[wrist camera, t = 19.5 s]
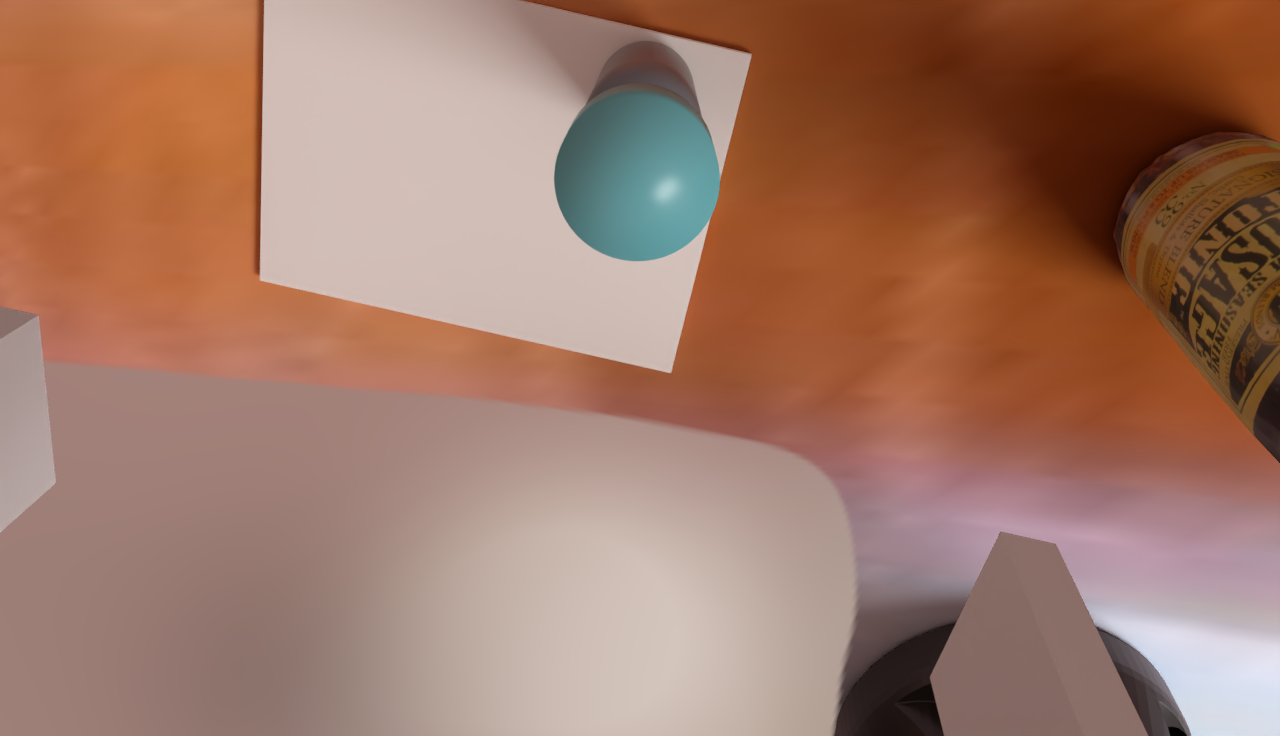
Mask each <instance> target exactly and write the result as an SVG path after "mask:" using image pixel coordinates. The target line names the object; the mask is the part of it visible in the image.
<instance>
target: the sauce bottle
mask: <svg viewBox="0 0 1280 736" xmlns="http://www.w3.org/2000/svg"><path fill="white" fill-rule="evenodd" d="M1113 237H1114V239H1115V243H1116V246H1117V251H1118V254H1119V258H1120V262H1121V264H1122V267H1123V271H1124V274H1125V276H1126V279H1127V281H1128V283H1129V285H1130V286H1131V287H1132V289H1133V290H1134V292H1135V293H1136V294H1137V295H1138V296H1139V297H1140V299H1141V300H1142V301H1143V302H1144V303H1145V305H1146V306H1147V307H1148V308H1149V310H1150V311H1151V312H1152V313H1153V314H1154V316H1155V317H1156V318H1157V319H1158V321H1159V322H1160V323H1161V324H1162V326H1163V327H1164V328H1165V329H1166V331H1167V332H1168V333H1169V334H1170V335H1171V337H1172V338H1173V339H1174V340H1175V342H1176V343H1177V344H1178V345H1179V347H1180V348H1181V349H1182V351H1183V352H1184V353H1185V354H1186V356H1187V357H1188V358H1189V360H1190V361H1191V362H1192V363H1193V364H1194V366H1195V367H1196V368H1197V369H1198V370H1199V372H1200V373H1201V374H1202V375H1203V376H1204V378H1205V379H1206V380H1207V381H1208V382H1209V384H1210V385H1211V386H1212V387H1213V388H1214V390H1215V391H1216V392H1217V393H1218V394H1219V395H1220V397H1221V398H1222V399H1223V400H1224V401H1225V403H1226V404H1227V405H1228V406H1229V407H1230V408H1231V410H1232V411H1233V412H1234V413H1235V414H1236V415H1237V417H1238V418H1239V419H1240V420H1241V421H1242V422H1243V424H1244V425H1245V426H1246V427H1247V428H1248V429H1249V431H1250V432H1251V433H1252V434H1253V435H1254V436H1255V437H1256V438H1257V439H1258V440H1259V441H1260V442H1261V443H1262V445H1263V446H1264V447H1265V448H1266V449H1267V450H1268V451H1269V452H1270V453H1271V454H1272V455H1273V456H1274V457H1275V458H1276V459H1277V461H1278V462H1279V463H1280V142H1278V141H1275V140H1272V139H1270V138H1267V137H1266V136H1263V135H1256V134H1250V133H1244V132H1215V133H1210V134H1206V135H1204V136H1201V137H1198V138H1195V139H1192V140H1189V141H1187V142H1185V143H1183V144H1181V145H1179V146H1176V147H1174V148H1172V149H1171V150H1169V151H1168V152H1166V153H1165V154H1162V155H1160V156H1158V157H1157V158H1155V160H1154V161H1153V163H1152V164H1151V165H1150V166H1148V167H1146V168H1145V169H1143V170H1142V171H1141V172H1140V173H1139V174H1138V176H1137V178H1136V180H1135V181H1134V183H1133V184H1132V185H1131V187H1130V189H1129V191H1128V193H1127V194H1126V196H1125V199H1124V201H1123V203H1122V206H1121V208H1120V209H1119V216H1118V219H1117V221H1116V227H1115V229H1114V232H1113Z"/></svg>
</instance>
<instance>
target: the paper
mask: <svg viewBox="0 0 1280 736" xmlns="http://www.w3.org/2000/svg"><path fill="white" fill-rule="evenodd" d="M639 41H652V42H657V43H661V44H663V45H666V46H668V47H669V48H671V49H673V50H674V51H675V52H677V53H678V54H679V55H680V56H681V57H682V58H683V60H684V61H685V62H686V64H687V66H688V68H689V70H690V72H691V75H692V78H693V82H694V86H695V90H696V95H697V99H698V103H699V107H700V111H701V115H702V118H703V120H704V121H705V123H706V125H707V127H708V129H709V132H710V134H711V137H712V141H713V145H714V149H715V152H716V156H717V160H718V164H719V172H720V178H721V174H722V170H723V166H724V162H725V158H726V154H727V151H728V147H729V143H730V139H731V135H732V131H733V127H734V123H735V119H736V115H737V111H738V107H739V103H740V99H741V96H742V92H743V88H744V84H745V80H746V76H747V72H748V68H749V64H750V60H751V56H752V53H748V52H744V51H739V50H735V49H731V48H726V47H722V46H718V45H713V44H709V43H705V42H700V41H696V40H692V39H688V38H683V37H679V36H675V35H670V34H666V33H662V32H657V31H653V30H649V29H645V28H640V27H636V26H632V25H627V24H623V23H619V22H614V21H610V20H606V19H602V18H597V17H593V16H589V15H584V14H580V13H576V12H571V11H567V10H563V9H559V8H554V7H550V6H546V5H541V4H537V3H533V2H528V1H524V0H264V43H263V107H262V171H261V235H260V281H265V282H269V283H273V284H278V285H282V286H287V287H291V288H296V289H300V290H304V291H309V292H313V293H318V294H322V295H327V296H331V297H335V298H340V299H344V300H349V301H353V302H358V303H362V304H366V305H371V306H375V307H380V308H384V309H389V310H393V311H397V312H402V313H406V314H411V315H415V316H420V317H424V318H428V319H433V320H437V321H442V322H446V323H451V324H455V325H459V326H464V327H468V328H473V329H477V330H482V331H486V332H490V333H495V334H499V335H504V336H508V337H513V338H517V339H522V340H526V341H530V342H535V343H539V344H544V345H548V346H553V347H557V348H561V349H566V350H570V351H575V352H579V353H584V354H588V355H592V356H597V357H601V358H606V359H610V360H615V361H619V362H623V363H628V364H632V365H637V366H641V367H646V368H650V369H654V370H659V371H663V372H668V373H671V371H672V367H673V363H674V359H675V355H676V351H677V347H678V343H679V339H680V335H681V331H682V327H683V323H684V319H685V316H686V312H687V308H688V304H689V300H690V296H691V292H692V288H693V284H694V280H695V276H696V272H697V268H698V264H699V261H700V257H701V253H702V249H703V245H704V241H705V237H706V233H707V229H708V225H709V221H710V219H709V221H708V222H707V224H706V226H705V227H704V228H703V230H702V231H701V232H700V233H699V235H698V236H696V237H695V238H694V239H693V240H692V241H691V242H690V243H689V244H687V245H686V246H685V247H683V248H682V249H680V250H678V251H676V252H675V253H673V254H670V255H668V256H665V257H662V258H659V259H655V260H648V261H627V260H620V259H616V258H612V257H610V256H607V255H605V254H602V253H600V252H598V251H597V250H595V249H593V248H592V247H590V246H589V245H587V244H586V243H585V242H583V241H582V240H581V239H580V238H579V237H578V236H577V235H576V234H575V233H574V231H573V230H572V229H571V228H570V226H569V225H568V223H567V222H566V220H565V219H564V216H563V214H562V212H561V210H560V208H559V205H558V202H557V198H556V193H555V186H554V171H555V164H556V159H557V155H558V152H559V149H560V147H561V144H562V142H563V140H564V138H565V136H566V134H567V132H568V130H569V128H570V126H571V124H572V122H573V120H574V119H575V117H576V116H577V114H578V113H579V112H580V110H581V109H582V108H583V107H584V106H585V105H586V103H587V101H588V98H589V96H590V94H591V92H592V90H593V88H594V86H595V83H596V81H597V79H598V77H599V75H600V73H601V71H602V69H603V67H604V65H605V63H606V62H607V60H608V59H609V58H610V57H611V56H612V55H613V54H614V53H615V52H616V51H617V50H619V49H620V48H622V47H624V46H626V45H628V44H631V43H634V42H639Z"/></svg>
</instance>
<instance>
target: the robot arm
mask: <svg viewBox="0 0 1280 736" xmlns="http://www.w3.org/2000/svg"><path fill="white" fill-rule="evenodd" d="M54 484H56V478H55V468H54V458H53V449H52V439H51V430H50V420H49V410H48V402H47V392H46V381H45V372H44V362H43V352H42V343H41V333H40V323H39V315H36V314H32V313H27V312H23V311H18V310H14V309H9V308H5V307H0V532H2V531H3V530H4V529H5V528H6V527H7V526H8V525H9V524H10V523H12V522H13V521H14V520H15V519H16V518H17V517H18V516H20V515H21V514H22V513H23V512H24V511H25V510H26V509H27V508H28V507H30V506H31V505H32V504H33V503H34V502H35V501H36V500H38V499H39V498H40V497H41V496H42V495H43V494H44V493H45V492H47V491H48V490H49V489H50V488H51V487H52V486H53V485H54ZM835 736H1191V733H1190V730H1189V728H1188V725H1187V723H1186V721H1185V719H1184V717H1183V715H1182V713H1181V711H1180V709H1179V707H1178V705H1177V704H1176V702H1175V700H1174V698H1173V696H1172V694H1171V692H1170V690H1169V688H1168V687H1167V685H1166V683H1165V681H1164V680H1163V678H1162V677H1161V675H1160V674H1159V672H1158V671H1157V670H1156V669H1155V668H1154V666H1153V665H1152V664H1151V663H1150V662H1149V661H1148V660H1147V659H1146V658H1145V657H1144V656H1142V655H1141V654H1140V653H1139V652H1137V651H1136V650H1135V649H1133V648H1132V647H1130V646H1129V645H1127V644H1126V643H1124V642H1122V641H1121V640H1119V639H1117V638H1115V637H1113V636H1111V635H1109V634H1107V633H1105V632H1102V631H1100V630H1097V628H1096V626H1095V624H1094V622H1093V620H1092V618H1091V616H1090V614H1089V612H1088V610H1087V608H1086V606H1085V604H1084V602H1083V599H1082V597H1081V595H1080V593H1079V591H1078V589H1077V587H1076V585H1075V583H1074V581H1073V579H1072V577H1071V575H1070V573H1069V571H1068V568H1067V566H1066V564H1065V562H1064V560H1063V558H1062V556H1061V554H1060V552H1059V550H1058V548H1057V546H1056V544H1053V543H1049V542H1045V541H1040V540H1036V539H1031V538H1027V537H1022V536H1018V535H1013V534H1009V533H1005V532H1000V534H999V536H998V538H997V540H996V542H995V544H994V546H993V548H992V550H991V552H990V554H989V556H988V558H987V561H986V563H985V565H984V567H983V569H982V571H981V573H980V575H979V577H978V579H977V581H976V583H975V585H974V587H973V589H972V591H971V593H970V595H969V597H968V600H967V602H966V604H965V606H964V608H963V610H962V612H961V614H960V616H959V618H958V620H957V622H956V624H952V625H948V626H945V627H942V628H939V629H936V630H933V631H931V632H928V633H926V634H923V635H921V636H919V637H917V638H914V639H912V640H910V641H908V642H907V643H905V644H903V645H901V646H899V647H898V648H896V649H894V650H893V651H891V652H890V653H888V654H887V655H886V656H884V657H883V658H881V659H880V660H879V661H878V662H877V663H875V664H874V665H873V666H872V667H871V668H870V669H869V670H868V671H867V672H866V673H865V674H864V675H863V676H862V677H861V678H860V679H859V680H858V682H857V683H856V684H855V686H854V687H853V688H852V690H851V691H850V693H849V695H848V696H847V698H846V700H845V702H844V704H843V706H842V709H841V711H840V714H839V717H838V721H837V725H836V732H835Z"/></svg>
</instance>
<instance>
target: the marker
mask: <svg viewBox="0 0 1280 736" xmlns="http://www.w3.org/2000/svg"><path fill="white" fill-rule="evenodd" d="M554 186H555V193H556V198H557V202H558V205H559V208H560V210H561V212H562V214H563V216H564V219H565V220H566V222H567V223H568V225H569V226H570V228H571V229H572V230H573V231H574V233H575V234H576V235H577V236H578V237H579V238H580V239H581V240H582V241H583V242H585V243H586V244H587V245H589V246H590V247H592V248H593V249H595V250H597V251H598V252H600V253H602V254H605V255H607V256H610V257H612V258H616V259H620V260H627V261H648V260H655V259H659V258H662V257H665V256H668V255H670V254H673V253H675V252H676V251H678V250H680V249H682V248H683V247H685V246H686V245H687V244H689V243H690V242H691V241H692V240H693V239H694V238H695V237H696V236H698V235H699V233H700V232H701V231H702V230H703V228H704V227H705V226H706V224H707V222H708V221H709V219H710V217H711V215H712V213H713V211H714V209H715V206H716V202H717V199H718V194H719V187H720V172H719V164H718V160H717V156H716V152H715V149H714V145H713V141H712V137H711V134H710V132H709V129H708V127H707V125H706V123H705V121H704V120H703V118H702V115H701V111H700V107H699V103H698V99H697V95H696V90H695V86H694V82H693V78H692V75H691V72H690V70H689V68H688V66H687V64H686V62H685V61H684V60H683V58H682V57H681V56H680V55H679V54H678V53H677V52H675V51H674V50H673V49H671V48H669V47H668V46H666V45H663V44H661V43H657V42H652V41H639V42H634V43H631V44H628V45H626V46H624V47H622V48H620V49H619V50H617V51H616V52H615V53H614V54H613V55H612V56H611V57H610V58H609V59H608V60H607V62H606V63H605V65H604V67H603V69H602V71H601V73H600V75H599V77H598V79H597V81H596V83H595V86H594V88H593V90H592V92H591V94H590V96H589V98H588V101H587V103H586V105H585V106H584V107H583V108H582V109H581V110H580V112H579V113H578V114H577V116H576V117H575V119H574V120H573V122H572V124H571V126H570V128H569V130H568V132H567V134H566V136H565V138H564V140H563V142H562V144H561V147H560V149H559V152H558V155H557V159H556V164H555V171H554Z"/></svg>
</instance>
